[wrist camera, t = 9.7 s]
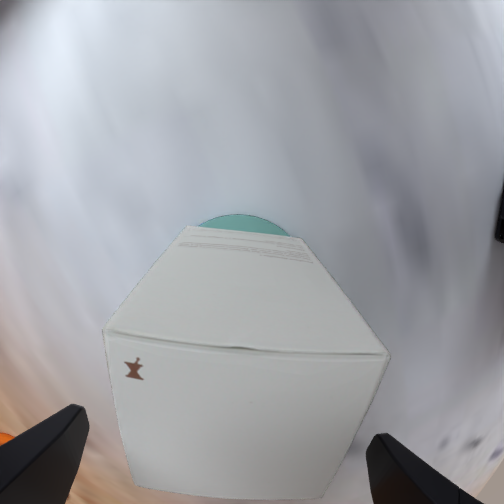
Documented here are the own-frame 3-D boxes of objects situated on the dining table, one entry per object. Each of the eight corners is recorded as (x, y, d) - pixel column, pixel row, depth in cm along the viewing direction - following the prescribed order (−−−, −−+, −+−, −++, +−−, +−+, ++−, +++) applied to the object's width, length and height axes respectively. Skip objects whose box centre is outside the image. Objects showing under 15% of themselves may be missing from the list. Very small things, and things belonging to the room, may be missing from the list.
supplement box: (178, 330, 21) (126, 487, 8) (185, 222, 19) (92, 321, 7) (287, 342, 21) (322, 503, 9) (307, 237, 19) (400, 352, 7)
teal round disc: (319, 225, 19) (321, 226, 19) (293, 349, 22) (294, 353, 21) (174, 206, 19) (172, 207, 18) (167, 335, 21) (165, 338, 21)
